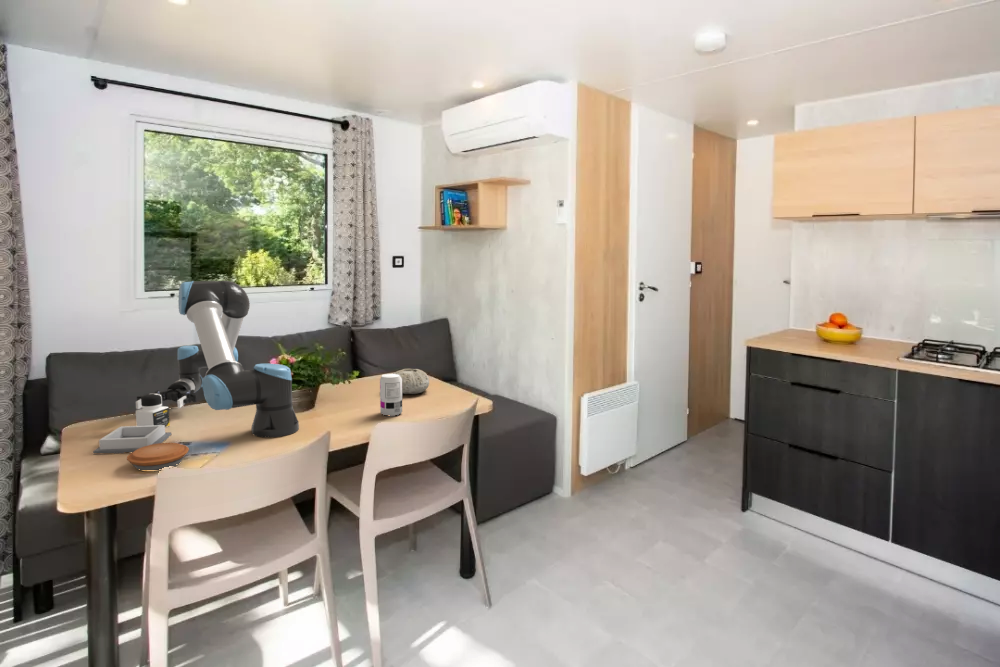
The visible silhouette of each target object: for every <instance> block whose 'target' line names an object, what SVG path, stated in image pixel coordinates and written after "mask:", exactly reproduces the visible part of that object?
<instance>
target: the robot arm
mask: <svg viewBox="0 0 1000 667" xmlns="http://www.w3.org/2000/svg"><path fill="white" fill-rule="evenodd" d="M177 300H178V301H177V302H178V313H179V315H181V316H186V318H187V319H188V321H189V322H191V323H193V324H194V327H195V331H196V333H197V338H198V340H199V343H200V346H201V347H200V348H201V349H199V346H197V345H193V344H192V345H183V346H180V347H178V348H177V358H176V359H177V365H178V380H175V381H174V382H173V383H171V384H170V385H168V388H167V389H166V390H163V391H160V390H155V391H153V392H149V393H145V394H142V395H138V396H136V401H135V409H136V410H139V409H142V405H141V397H142V396H144V395H147V394H160V395H161V397H162V402H165V401H173V402H176V403H177V408H178V409H181V408H182V407H183V406H185V405H186V404H188V403H192V402H193V403H197V402H198V400H197V394H196V393H197V392H198V391H199V390H200V389H201V388H202V391H203V395H204V396H203V397H204V399H205V401H206V403H207V404H208V406H209V407H210V408H211V409H212V410H215V411H221V410H225V411H227V410H228V411H229V410H231V409H236V408H242V407H249V406H254V405H255V408H256V409H255V414H254V417H253V420H252V421H253V422H252V425H251V434H252V436H255V437H258V438H259V437H260V438H278V437H284V436H285V437H286V436H288V435H291V434H294V433H296V432H298V431H299V428H300V424H299V420H298V418H297V415H296V412H295V410H294V407H293V390H292V389H293V387H292V386H293V378H292V371H291V368H290V367H288V366H287V365H284V364H279V363H277V364H276V363H257V364H256V363H255V365H254V366H253V369H249V370H245V369H244V366H243V365H242V364H241V362H239V352H238V349H237V347H236V345H237V340H238V337H239V334H240V331H241V328H242V323H243V321H244V318H245V317H246V316H248V313H249V310H250V303H251V302H250V298H249V295H248V294H247V292H246V291H245V289H244V288H243V287H241V286H240V285H239V284H237V283H235V282H233V281H229V280H207V281H206V280H202V281H200V280H198V281H195V280H192V281H184V282H182V283H181V284H180V285H179V288H178V299H177ZM204 368H205V369H206V368H208V370H207V371H206V373H205V376H204V377H203V376H202V375H201V372H200V370H201V369H204Z"/></svg>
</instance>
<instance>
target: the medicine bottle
mask: <svg viewBox="0 0 1000 667" xmlns="http://www.w3.org/2000/svg"><path fill="white" fill-rule="evenodd" d="M146 394H147V395H145V394H143V395H144V396H142V397H141V405H142V407H141V408H140V409H136V410H135V421H136V422H135V423H136V426H150V425H165V429H166V428H169V427H170V425H171V423H170V409H169V406H164V405H163V401H162V397H161V395H160V394H148V393H146ZM168 426H169V427H168Z"/></svg>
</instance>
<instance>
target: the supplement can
mask: <svg viewBox="0 0 1000 667" xmlns="http://www.w3.org/2000/svg"><path fill="white" fill-rule="evenodd" d="M379 396H380V397H379V400H380V401H379V402H380V403H379V404H380V409H379V410H380V414H381V415H382V414H383V415H382V416H384V415H390V416H389V417H396V416H395V415H397V416H399V414H400V415H401V414H402V413H403V393H402V378H401V377H400V375H399V374H393V373H384V374H382V375H381V377H380V378H379Z"/></svg>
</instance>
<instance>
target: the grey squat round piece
mask: <svg viewBox="0 0 1000 667" xmlns="http://www.w3.org/2000/svg"><path fill="white" fill-rule="evenodd" d="M392 374H399V375H400V377H401V378H402V394H404V395H406V394H408V395H416V394H417V395H419V394H421V393H423V392H424V391H426V390H427V389H428V387H429V386H430V377H429V376H428V375H427V372H425V371H423V370H422V369H419V368H402V369H400V370H397V371H395V372H393V373H392Z"/></svg>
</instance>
